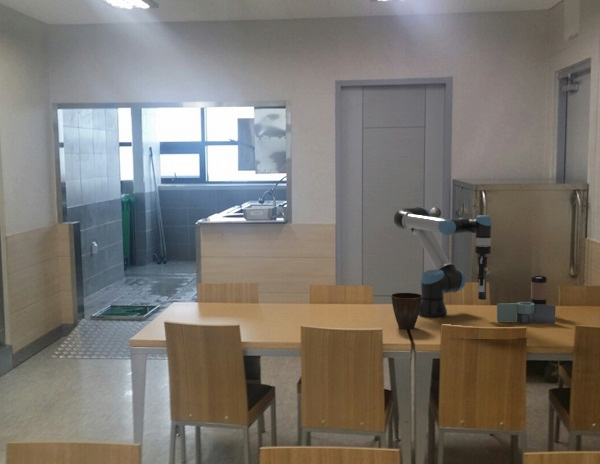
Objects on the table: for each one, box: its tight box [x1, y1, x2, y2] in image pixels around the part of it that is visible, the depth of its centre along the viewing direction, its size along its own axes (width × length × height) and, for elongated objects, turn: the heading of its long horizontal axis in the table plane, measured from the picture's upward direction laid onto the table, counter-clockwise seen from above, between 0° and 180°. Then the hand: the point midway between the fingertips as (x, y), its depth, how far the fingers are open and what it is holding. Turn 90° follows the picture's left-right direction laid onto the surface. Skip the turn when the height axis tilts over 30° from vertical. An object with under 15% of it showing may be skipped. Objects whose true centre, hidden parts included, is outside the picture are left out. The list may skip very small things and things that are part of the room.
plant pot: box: [390, 292, 422, 330], centre depth 331 cm, size 15×15×16 cm
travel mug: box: [530, 275, 548, 305], centre depth 354 cm, size 8×8×20 cm
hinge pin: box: [476, 266, 489, 301], centre depth 346 cm, size 5×5×16 cm
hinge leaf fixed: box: [516, 304, 557, 325], centre depth 337 cm, size 18×8×9 cm, turn 67°
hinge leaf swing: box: [496, 301, 535, 323], centre depth 339 cm, size 18×8×9 cm, turn 87°
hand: (482, 290), depth 346 cm, fingers closed on hinge pin, 4 cm apart
